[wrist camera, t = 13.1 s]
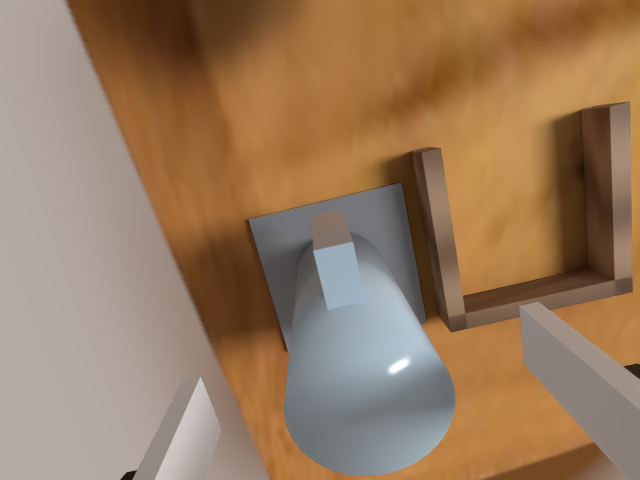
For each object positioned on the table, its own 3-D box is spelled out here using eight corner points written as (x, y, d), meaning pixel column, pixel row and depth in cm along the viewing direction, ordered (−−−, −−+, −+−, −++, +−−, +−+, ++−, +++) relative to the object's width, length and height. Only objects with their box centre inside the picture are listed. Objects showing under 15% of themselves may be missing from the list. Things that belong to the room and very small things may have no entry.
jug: (308, 321, 28) (306, 489, 15) (278, 208, 26) (243, 287, 12) (391, 303, 28) (465, 457, 15) (368, 187, 26) (432, 244, 12)
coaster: (249, 218, 26) (248, 219, 26) (400, 182, 26) (401, 182, 26) (288, 351, 29) (288, 353, 29) (425, 320, 29) (426, 322, 28)
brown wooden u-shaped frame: (411, 151, 25) (421, 152, 23) (599, 105, 25) (629, 101, 22) (439, 316, 29) (450, 332, 26) (605, 278, 28) (632, 292, 26)
